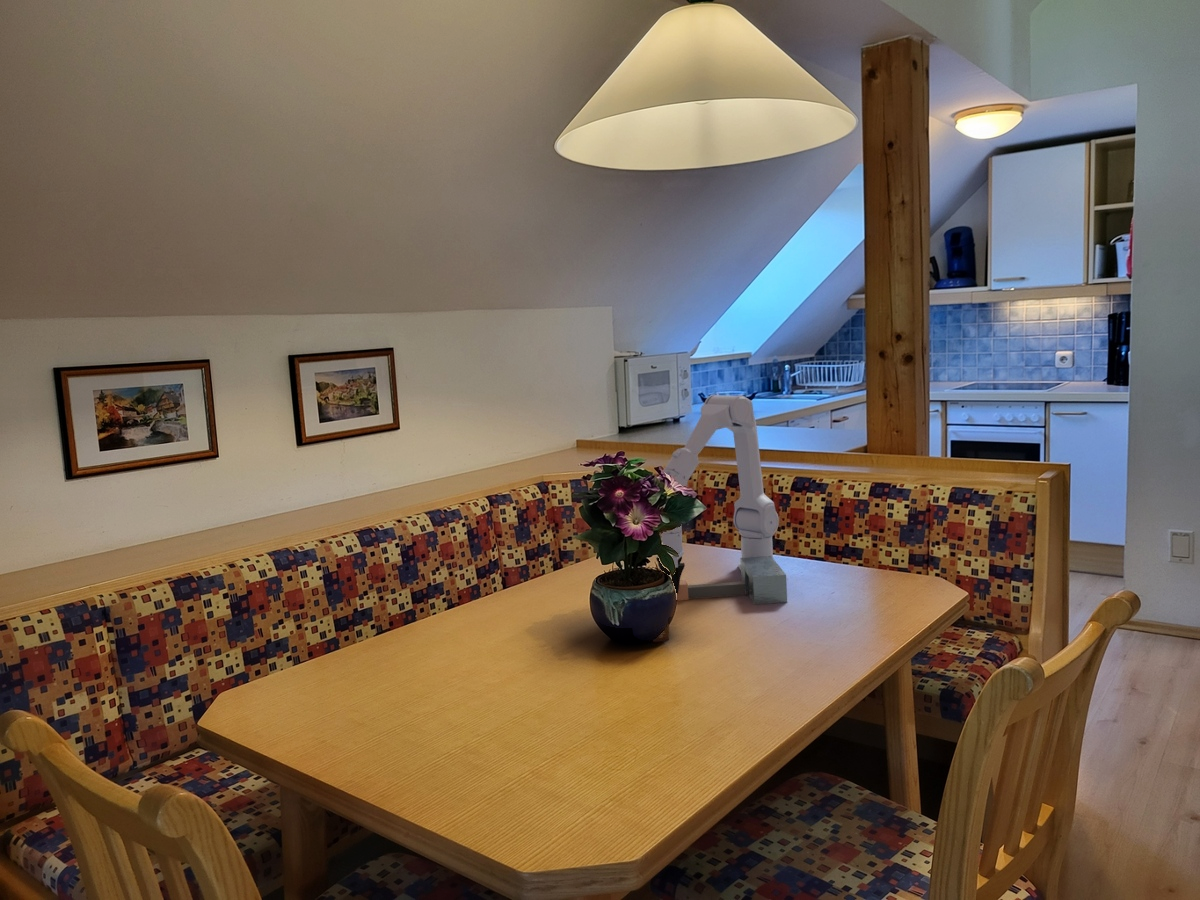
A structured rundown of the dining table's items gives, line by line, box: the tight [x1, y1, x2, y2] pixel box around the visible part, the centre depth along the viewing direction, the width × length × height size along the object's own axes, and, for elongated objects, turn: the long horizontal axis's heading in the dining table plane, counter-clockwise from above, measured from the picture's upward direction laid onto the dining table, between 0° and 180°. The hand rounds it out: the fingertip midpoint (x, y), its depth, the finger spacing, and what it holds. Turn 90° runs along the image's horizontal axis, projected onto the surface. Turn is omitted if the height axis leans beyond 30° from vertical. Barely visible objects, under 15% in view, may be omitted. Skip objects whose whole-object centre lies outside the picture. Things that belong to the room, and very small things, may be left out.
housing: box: [739, 556, 788, 605], centre depth 203 cm, size 16×7×6 cm, turn 1°
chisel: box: [677, 579, 747, 602], centre depth 203 cm, size 4×18×4 cm, turn 91°
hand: (671, 591), depth 203 cm, fingers closed on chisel, 4 cm apart
